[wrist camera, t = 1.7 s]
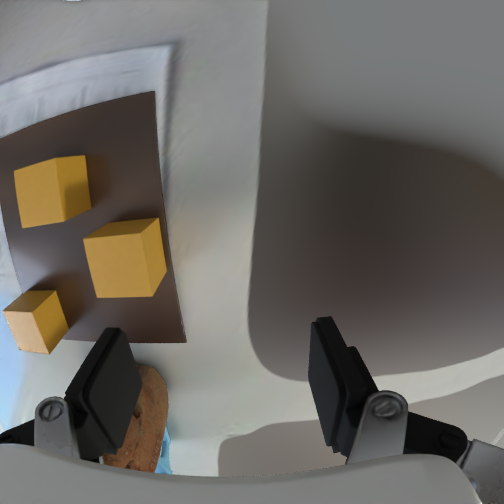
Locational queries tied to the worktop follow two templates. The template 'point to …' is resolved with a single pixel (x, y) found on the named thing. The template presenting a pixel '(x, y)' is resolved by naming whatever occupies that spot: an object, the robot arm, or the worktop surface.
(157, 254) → the ochre block
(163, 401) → the brown rounded lump
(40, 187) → the ochre block
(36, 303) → the ochre block
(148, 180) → the mat
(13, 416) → the worktop surface
